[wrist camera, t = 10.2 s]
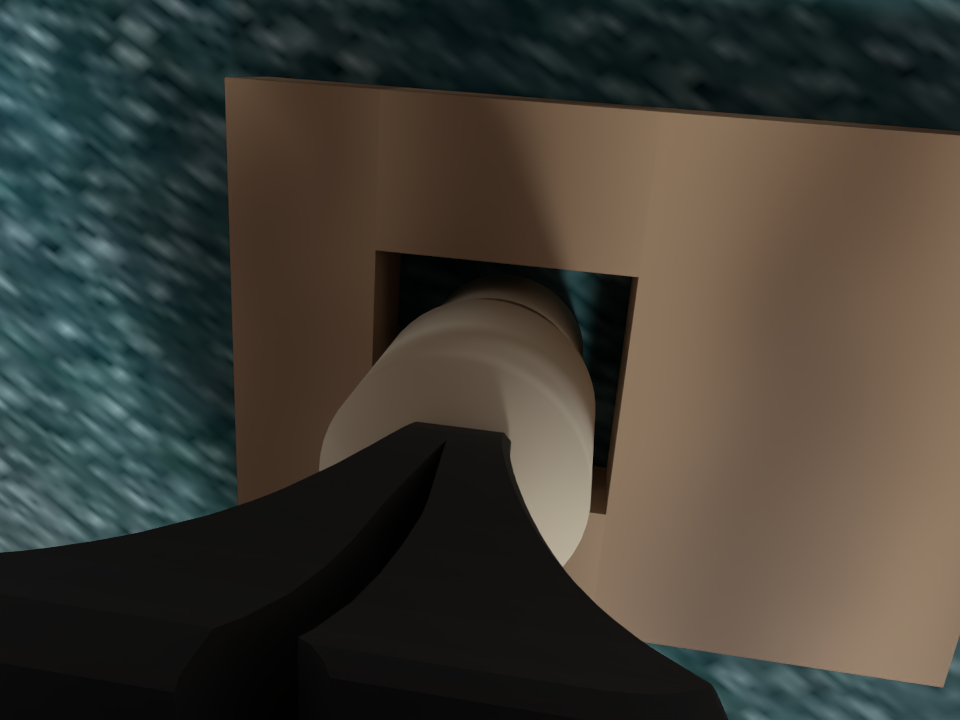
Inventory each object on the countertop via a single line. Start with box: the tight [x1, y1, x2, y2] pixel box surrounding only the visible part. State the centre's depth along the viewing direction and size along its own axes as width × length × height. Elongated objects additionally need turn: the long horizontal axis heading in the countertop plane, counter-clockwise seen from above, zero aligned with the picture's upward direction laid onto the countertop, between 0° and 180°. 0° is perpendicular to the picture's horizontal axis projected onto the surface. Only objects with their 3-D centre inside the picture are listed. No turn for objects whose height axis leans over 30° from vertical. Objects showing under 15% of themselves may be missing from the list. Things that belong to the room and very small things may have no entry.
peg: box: [319, 275, 595, 567], centre depth 14 cm, size 4×4×6 cm
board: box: [225, 77, 960, 687], centre depth 16 cm, size 14×10×2 cm
